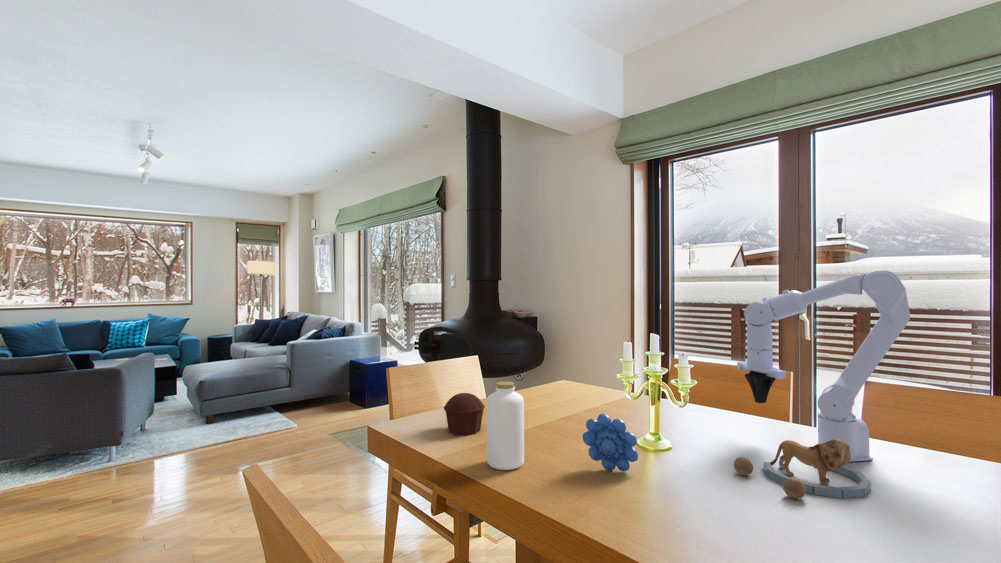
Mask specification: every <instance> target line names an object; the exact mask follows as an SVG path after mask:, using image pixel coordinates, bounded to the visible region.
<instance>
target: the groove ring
mask: <svg viewBox="0 0 1001 563" xmlns="http://www.w3.org/2000/svg"><path fill="white" fill-rule="evenodd" d="M770 462H771V461H769V462H768V461H763V462H762V464H763V468H762V469H763V470H764V472H765V475H766V476H767V477H768V478H769V479H771V480H773V481H775V482H777V483H779V484H781V485H782V486H783V483H784V481H785V480H786V479H787V478H790V476H788V475H787V474H786V475H785V474H784V473H781V472H780V471H777V470H776V469H774V467H773V465H771V464H770ZM831 472H833V471H832V470H831ZM834 472H836V473H838V474H841V475H842V476H845V477H848V478H850V479H851V480H854V481H855V482H856V483H857V485H850V486H849V485H848V486H839V487H838V486H830V485H828V486H824V485H821V484H816V483H810V482H807V481H803V480H800V481H801V482H802V483H803V484H804V485H805V488H806V494H811V495H815V496H821V497H830V498H837V499H849V498H851V499H852V498H854V499H855V498H863V497H866V496H867V494H868V493H870V491H871V488H872V487H871V486H872V484H871V481H870V479H869V478H868V477H866V476H865V475H864V473H862V472H861V471H858V470H856V469H854V468H851V467H849V466H847V465H844V466H841V467H840V468H838V469H837V470H836V471H834Z"/></svg>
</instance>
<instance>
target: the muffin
mask: <svg viewBox="0 0 1001 563" xmlns="http://www.w3.org/2000/svg"><path fill="white" fill-rule="evenodd" d="M485 408H486V406H485V405H484V403H483V402H482V400H481V399H480V398H479V397H478V396H476V395H475V394H473V393H468V392H461V393H456V394H455V395H452V397H451V398H449V399H448V400H447V402H446V403H445V405H444V406H443V410H444V411H445V416H446V423H447V429H448V433H449V434H450V433H451V435H453V436H462V435H463V436H465V437H466V436H471V435H472V434H473V435H476V434H478V433H480V432H481V427H482V423H483V422H482V421H483V414H484V409H485ZM479 431H480V432H479ZM477 432H478V433H477Z"/></svg>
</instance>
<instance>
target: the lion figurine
mask: <svg viewBox="0 0 1001 563" xmlns="http://www.w3.org/2000/svg"><path fill="white" fill-rule="evenodd" d="M849 447H850V446H849V445H848V444H846V442H844V441H842V440H839V439H832V440H830V441H828V442H826V443H821V444H818V443H816V444H815V445H813V446H807V445H802V444H801V443H799V442H797V441H794V440H788V439H787V440H783V441H782V442H780V443H779V446H778V448H777V450H776V451H777V452H776V455H775V458H774V459H773V461H769V462H770V464H771V465H772V466H774V465H775V464H776V463H777V461H778V459H779V461H778V466H779V468H781V469H785V473H786V476H788V477H793V476H794V472H793V471H791V470H790V468H789V466H790V463H791V461H792V459H793V458H796V459H797V460H798V461H799V462H801V463H802V464H804V465H807V466H809V467H810V466H811V467H816V469H817V472H818V480H819V481H818V482H819V483H820V484H819V485H824V486H829V482H830V481H831V479H829V477H826V476H827V473H828V471H831V470H832V471H831V472H835V471H836V470H837V469H838V468H840V467H841V466H848V464H849V463H850V462H849V461H850V460H851V454H850V450H849V449H850V448H849ZM781 452H782V455H781ZM780 455H781V456H780Z"/></svg>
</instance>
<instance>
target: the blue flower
mask: <svg viewBox="0 0 1001 563" xmlns="http://www.w3.org/2000/svg"><path fill="white" fill-rule="evenodd" d="M585 426H586V429H587V431H585V432H583V434H582V441H583V442H584V444H585V445H586V446H588V447H589V448H588V456H589V457H590V459H591V460H592V461H595V462H599V461H600V463H601V465H602V467H603V469H604V470H606V471H609V472H612V471H615V469H616V468H617V469H618V470H619V471H621V472H627V471H629V469H630V467H631V465H630V462H631V463H635V462H636V461H638V459H639V454H638V451H637V450H636V449H635V448H634V447H635V446H636V445H637V441H638V440H637V437H636V436H635V435H634V433H633V432H630V431H627V426H626V423H625V422H624V421H623V420H622V419H620V418H614V419H612V418H610V416H609V415H607V414H605V413H600V414H598V416H597V419H593V418H589V419H587V420H586V422H585Z"/></svg>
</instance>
